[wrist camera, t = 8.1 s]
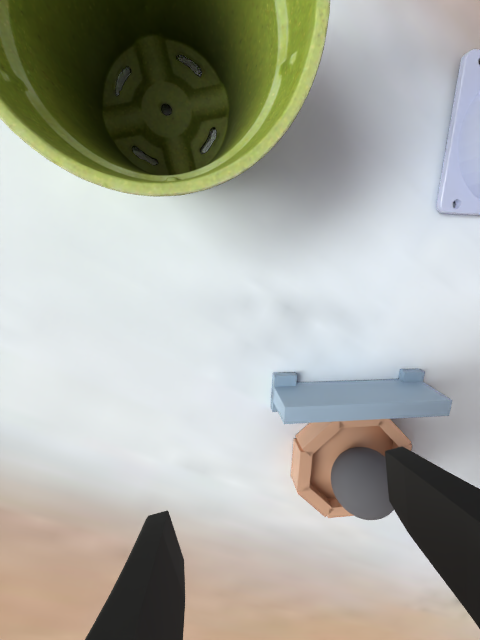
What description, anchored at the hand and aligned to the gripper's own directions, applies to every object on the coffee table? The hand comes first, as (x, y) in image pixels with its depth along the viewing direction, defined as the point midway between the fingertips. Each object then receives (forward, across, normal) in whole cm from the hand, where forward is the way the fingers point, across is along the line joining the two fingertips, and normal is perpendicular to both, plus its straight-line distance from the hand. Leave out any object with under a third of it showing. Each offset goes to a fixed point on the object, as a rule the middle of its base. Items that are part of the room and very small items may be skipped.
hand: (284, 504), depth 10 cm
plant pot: (+10, +1, -14) cm, 18 cm away
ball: (+9, -6, +8) cm, 13 cm away
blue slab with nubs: (+10, -7, +2) cm, 12 cm away
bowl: (+10, -6, +8) cm, 14 cm away
